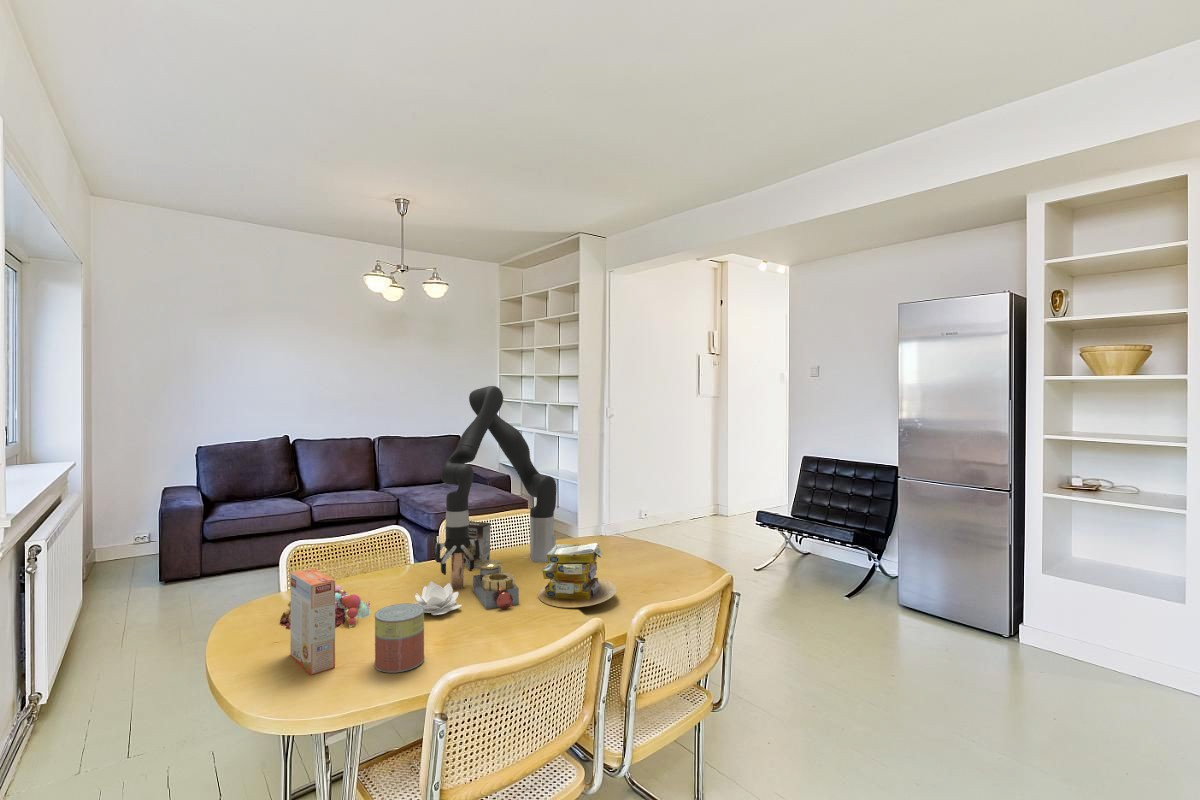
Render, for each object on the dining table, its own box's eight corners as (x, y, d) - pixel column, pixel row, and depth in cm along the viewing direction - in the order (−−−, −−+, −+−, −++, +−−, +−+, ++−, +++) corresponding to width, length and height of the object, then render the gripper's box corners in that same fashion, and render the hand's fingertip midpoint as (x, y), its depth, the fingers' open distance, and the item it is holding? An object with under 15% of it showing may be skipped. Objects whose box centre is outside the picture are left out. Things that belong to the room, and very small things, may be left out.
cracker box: (337, 668, 137) (336, 579, 137) (309, 677, 133) (309, 585, 132) (315, 649, 147) (315, 566, 147) (289, 657, 143) (289, 571, 142)
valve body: (472, 590, 191) (472, 562, 191) (502, 586, 195) (502, 558, 195) (488, 612, 172) (488, 580, 172) (521, 607, 176) (521, 576, 176)
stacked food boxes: (594, 611, 170) (594, 553, 172) (523, 601, 181) (523, 547, 182) (627, 592, 192) (627, 541, 194) (562, 585, 203) (562, 536, 204)
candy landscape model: (268, 640, 153) (268, 605, 153) (289, 609, 176) (289, 578, 176) (370, 630, 160) (370, 596, 160) (378, 601, 183) (378, 572, 183)
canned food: (407, 647, 148) (407, 600, 148) (433, 660, 141) (433, 610, 141) (365, 663, 140) (365, 612, 139) (391, 677, 132) (391, 624, 132)
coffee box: (460, 567, 216) (460, 524, 216) (469, 562, 223) (469, 520, 222) (482, 569, 214) (482, 525, 214) (490, 564, 220) (490, 522, 220)
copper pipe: (462, 585, 196) (462, 549, 196) (464, 589, 193) (464, 552, 192) (450, 587, 195) (450, 551, 194) (452, 590, 191) (452, 554, 191)
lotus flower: (458, 600, 182) (458, 572, 182) (464, 617, 168) (464, 587, 168) (410, 606, 177) (409, 577, 177) (412, 624, 163) (412, 593, 163)
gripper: (476, 519, 200) (476, 566, 200) (433, 523, 194) (433, 572, 194) (481, 523, 193) (481, 572, 193) (437, 528, 187) (437, 578, 187)
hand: (457, 572), depth 194 cm, fingers open, 8 cm apart
